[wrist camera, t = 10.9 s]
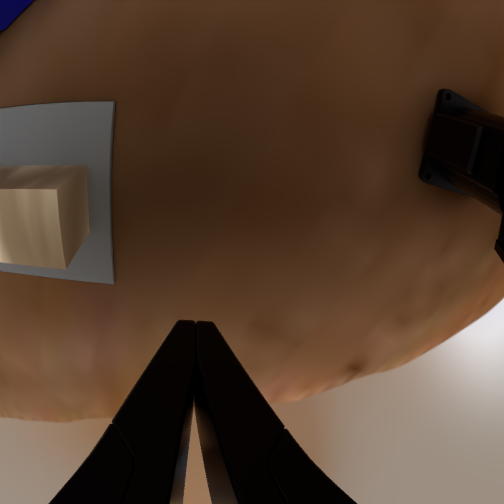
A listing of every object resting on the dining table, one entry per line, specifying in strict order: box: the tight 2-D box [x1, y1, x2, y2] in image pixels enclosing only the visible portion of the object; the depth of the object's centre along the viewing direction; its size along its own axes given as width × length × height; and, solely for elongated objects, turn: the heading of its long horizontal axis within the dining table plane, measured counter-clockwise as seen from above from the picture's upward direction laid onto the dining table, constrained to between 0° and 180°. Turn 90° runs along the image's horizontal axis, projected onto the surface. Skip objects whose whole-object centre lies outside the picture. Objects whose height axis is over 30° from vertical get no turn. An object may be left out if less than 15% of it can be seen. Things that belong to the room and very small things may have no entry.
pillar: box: [0, 165, 90, 270], centre depth 13 cm, size 4×4×8 cm
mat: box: [0, 101, 116, 284], centre depth 15 cm, size 10×11×1 cm
